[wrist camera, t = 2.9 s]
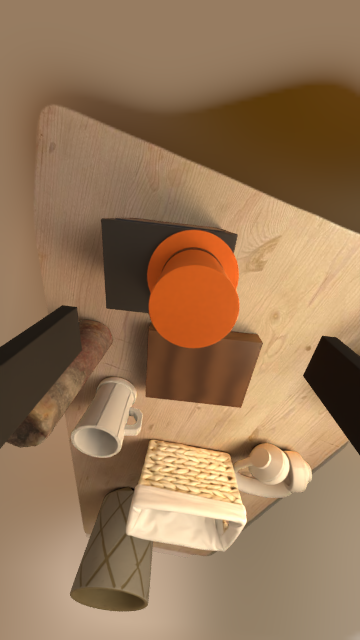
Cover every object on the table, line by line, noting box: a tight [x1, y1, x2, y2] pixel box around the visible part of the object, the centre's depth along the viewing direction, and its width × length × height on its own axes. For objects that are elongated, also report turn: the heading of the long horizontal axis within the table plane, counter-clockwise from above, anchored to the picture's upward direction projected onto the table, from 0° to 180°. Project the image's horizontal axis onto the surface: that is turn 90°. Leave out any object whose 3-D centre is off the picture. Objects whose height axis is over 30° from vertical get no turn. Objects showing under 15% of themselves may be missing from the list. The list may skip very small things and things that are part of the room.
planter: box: [70, 487, 153, 611], centre depth 59 cm, size 19×19×20 cm
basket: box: [126, 440, 247, 552], centre depth 50 cm, size 24×16×15 cm
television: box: [101, 218, 238, 313], centre depth 28 cm, size 14×10×11 cm
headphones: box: [233, 443, 312, 498], centre depth 53 cm, size 18×8×20 cm
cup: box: [71, 377, 143, 458], centre depth 41 cm, size 10×9×12 cm
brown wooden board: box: [146, 322, 263, 408], centre depth 41 cm, size 20×16×3 cm
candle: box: [6, 320, 113, 447], centre depth 31 cm, size 8×7×20 cm
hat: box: [147, 230, 239, 348], centre depth 19 cm, size 10×10×9 cm
